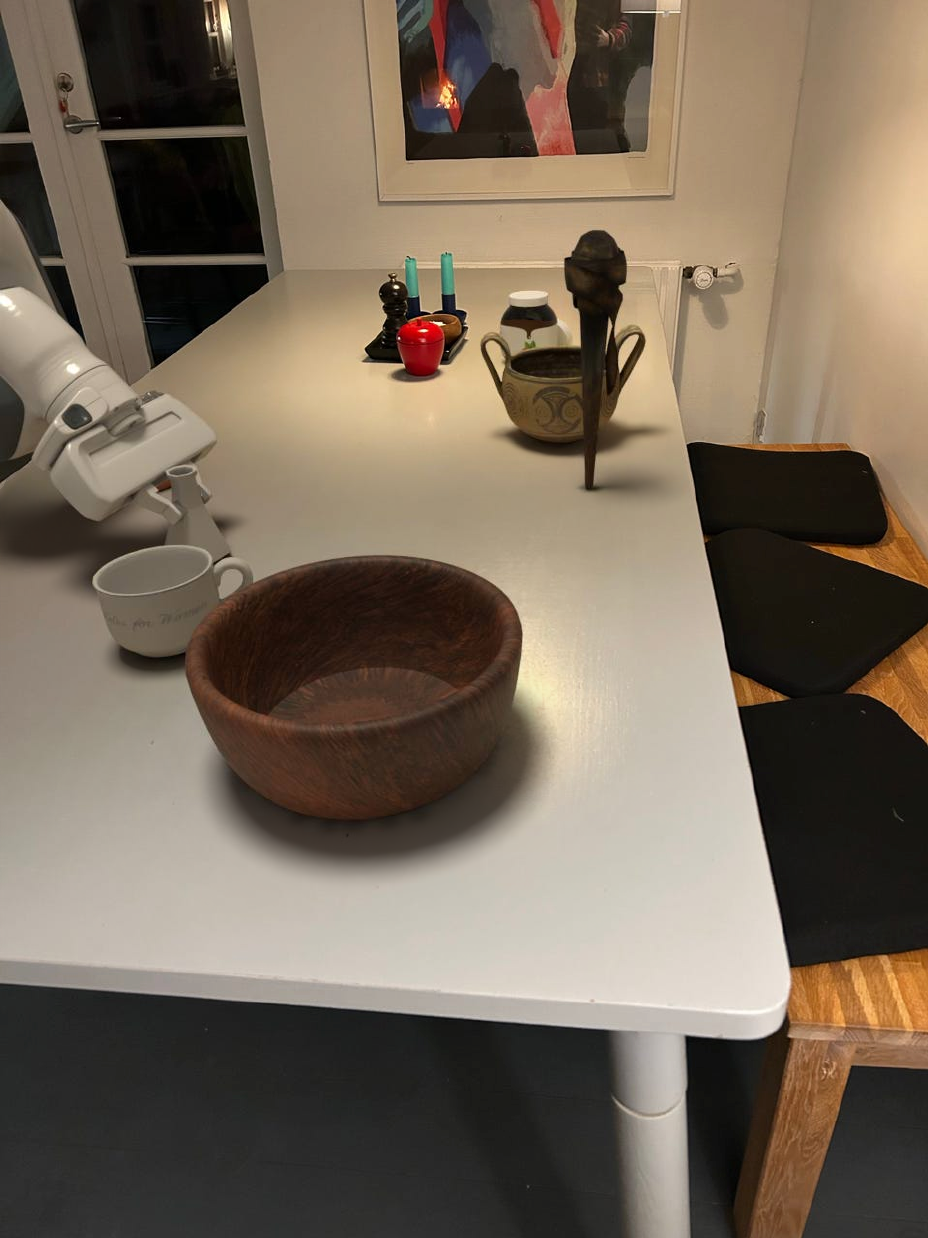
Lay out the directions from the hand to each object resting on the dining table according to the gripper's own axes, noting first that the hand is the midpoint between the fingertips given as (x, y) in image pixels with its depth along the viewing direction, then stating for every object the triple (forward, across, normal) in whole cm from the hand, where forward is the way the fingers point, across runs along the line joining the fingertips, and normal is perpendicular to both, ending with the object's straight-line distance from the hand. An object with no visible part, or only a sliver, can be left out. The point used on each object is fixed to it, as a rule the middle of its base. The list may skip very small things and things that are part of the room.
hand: (193, 510), depth 99 cm
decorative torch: (+30, -31, +22) cm, 48 cm away
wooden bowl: (+26, +23, +18) cm, 40 cm away
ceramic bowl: (+24, -48, +16) cm, 56 cm away
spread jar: (+13, -86, +5) cm, 87 cm away
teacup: (+10, +15, +2) cm, 18 cm away
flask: (+4, 0, -4) cm, 6 cm away
